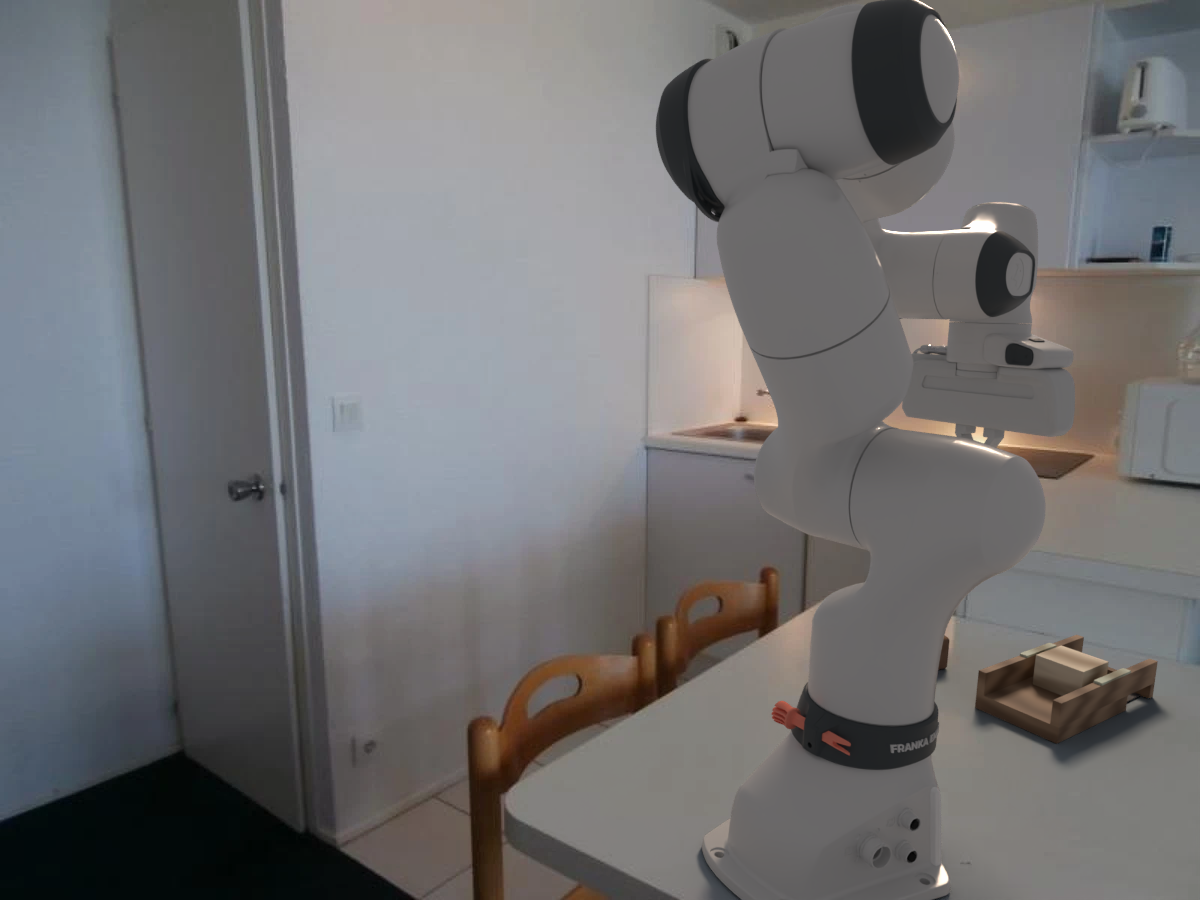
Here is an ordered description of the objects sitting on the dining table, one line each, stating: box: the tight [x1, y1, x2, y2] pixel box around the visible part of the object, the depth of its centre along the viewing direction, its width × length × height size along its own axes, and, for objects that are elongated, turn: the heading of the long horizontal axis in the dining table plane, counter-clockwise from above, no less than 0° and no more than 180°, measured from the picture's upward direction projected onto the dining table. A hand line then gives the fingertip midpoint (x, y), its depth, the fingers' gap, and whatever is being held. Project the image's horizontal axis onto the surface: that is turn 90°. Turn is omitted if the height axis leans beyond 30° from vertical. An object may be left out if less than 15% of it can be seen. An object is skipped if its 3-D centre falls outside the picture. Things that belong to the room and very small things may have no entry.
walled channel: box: [974, 634, 1159, 744], centre depth 108 cm, size 23×10×5 cm, turn 123°
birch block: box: [1033, 645, 1109, 696], centre depth 108 cm, size 6×6×4 cm
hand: (976, 463), depth 102 cm, fingers closed
